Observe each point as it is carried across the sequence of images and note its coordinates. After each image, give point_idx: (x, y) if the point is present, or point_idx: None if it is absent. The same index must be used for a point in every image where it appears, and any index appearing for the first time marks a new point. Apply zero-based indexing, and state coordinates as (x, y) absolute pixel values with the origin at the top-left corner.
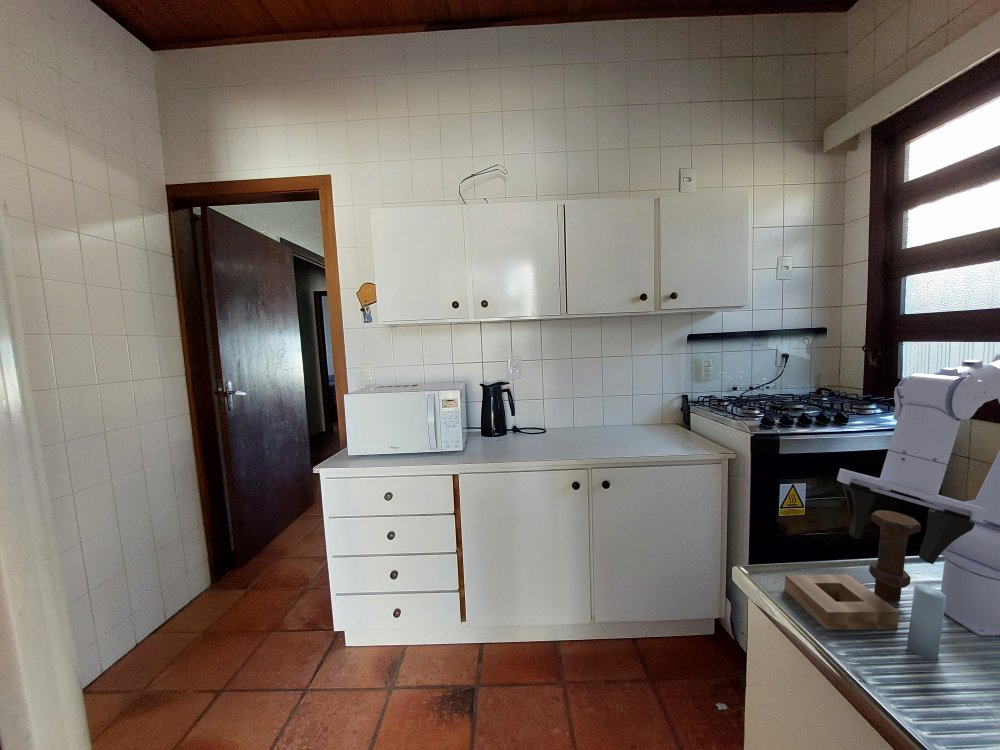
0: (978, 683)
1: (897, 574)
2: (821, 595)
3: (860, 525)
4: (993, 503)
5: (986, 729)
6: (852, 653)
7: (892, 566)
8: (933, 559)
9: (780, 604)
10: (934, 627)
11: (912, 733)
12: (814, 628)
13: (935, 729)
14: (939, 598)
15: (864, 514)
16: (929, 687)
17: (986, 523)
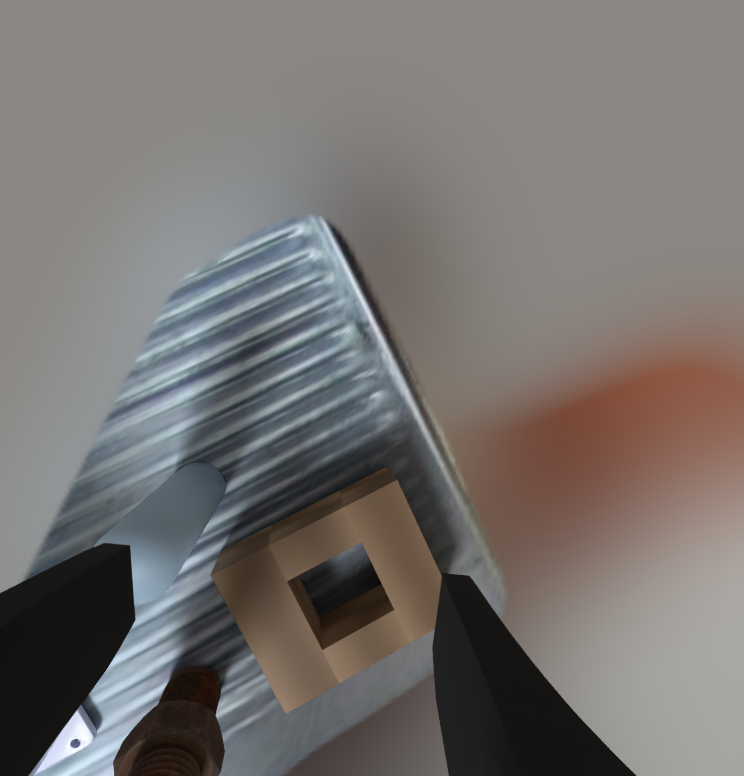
0: (124, 425)
1: (154, 749)
2: (391, 553)
3: (488, 636)
4: None
5: (180, 287)
6: (354, 406)
7: (161, 773)
8: (86, 555)
9: (463, 518)
10: (166, 487)
11: (321, 220)
12: (410, 459)
13: (276, 247)
14: (121, 527)
15: (529, 725)
16: (236, 365)
17: None
